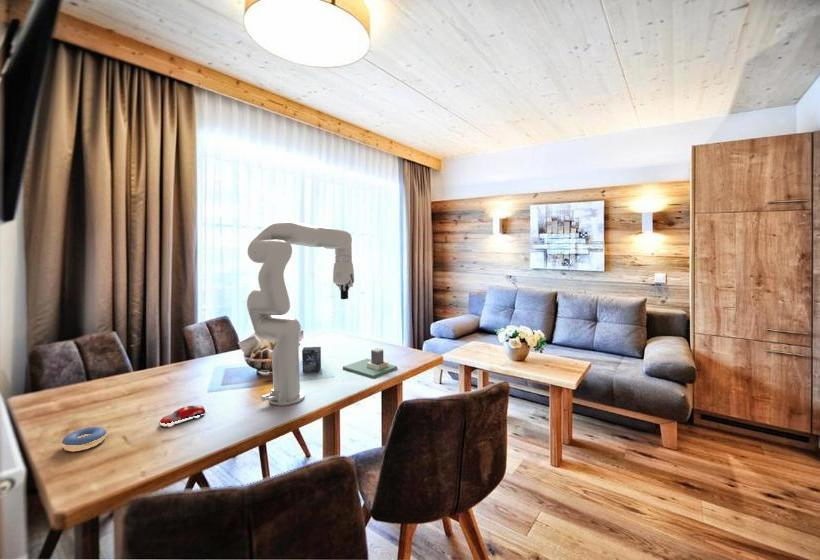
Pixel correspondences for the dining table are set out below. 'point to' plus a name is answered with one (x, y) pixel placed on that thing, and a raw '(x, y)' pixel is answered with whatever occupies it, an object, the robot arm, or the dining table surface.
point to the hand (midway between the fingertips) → (344, 298)
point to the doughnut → (95, 434)
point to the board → (370, 368)
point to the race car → (183, 413)
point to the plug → (377, 356)
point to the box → (311, 359)
